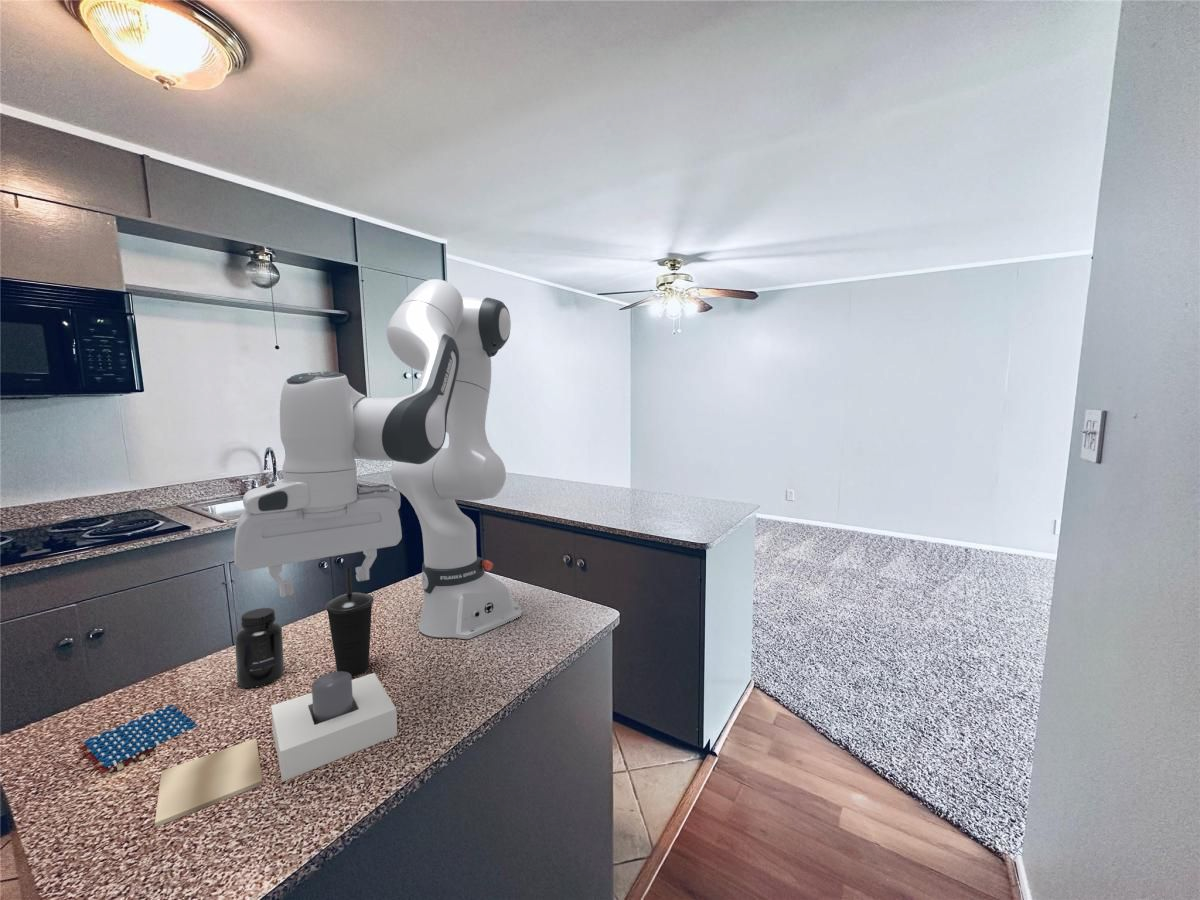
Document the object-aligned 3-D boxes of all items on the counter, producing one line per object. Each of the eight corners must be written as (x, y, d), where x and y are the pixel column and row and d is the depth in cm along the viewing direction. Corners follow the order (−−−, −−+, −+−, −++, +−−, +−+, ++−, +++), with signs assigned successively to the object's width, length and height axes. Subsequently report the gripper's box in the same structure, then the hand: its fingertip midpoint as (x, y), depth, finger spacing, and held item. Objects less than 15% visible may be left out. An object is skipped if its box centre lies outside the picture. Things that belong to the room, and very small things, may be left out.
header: (375, 701, 80) (374, 672, 79) (397, 741, 71) (396, 708, 70) (273, 738, 71) (270, 705, 71) (282, 788, 62) (280, 751, 61)
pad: (256, 747, 69) (256, 737, 69) (263, 791, 61) (262, 780, 61) (162, 781, 63) (161, 770, 63) (156, 835, 55) (154, 822, 55)
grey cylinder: (349, 717, 74) (347, 667, 74) (357, 735, 70) (355, 682, 70) (312, 731, 71) (309, 679, 70) (318, 750, 67) (315, 695, 67)
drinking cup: (344, 692, 83) (339, 577, 81) (320, 678, 87) (314, 569, 85) (385, 671, 89) (381, 564, 87) (360, 659, 93) (356, 557, 91)
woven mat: (77, 754, 69) (76, 740, 68) (173, 713, 78) (172, 701, 78) (102, 783, 63) (100, 769, 63) (201, 736, 72) (200, 723, 72)
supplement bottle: (260, 691, 83) (256, 623, 82) (227, 686, 84) (222, 619, 83) (293, 669, 89) (289, 606, 88) (262, 665, 91) (258, 603, 90)
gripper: (393, 480, 76) (396, 566, 78) (229, 494, 64) (236, 597, 65) (406, 485, 71) (409, 577, 73) (231, 502, 59) (238, 613, 60)
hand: (326, 587), depth 69 cm, fingers open, 8 cm apart
